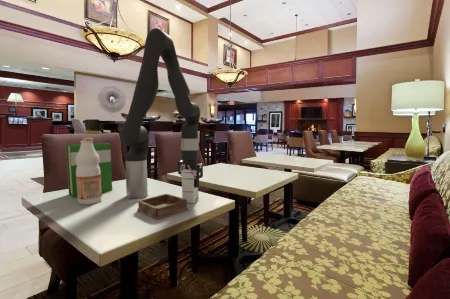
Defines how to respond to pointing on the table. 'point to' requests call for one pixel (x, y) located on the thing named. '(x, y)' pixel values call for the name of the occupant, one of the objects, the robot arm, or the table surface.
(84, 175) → the fruit juice
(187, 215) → the table surface
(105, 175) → the hardback book
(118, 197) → the table surface
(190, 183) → the syrup box
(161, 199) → the socket stand
